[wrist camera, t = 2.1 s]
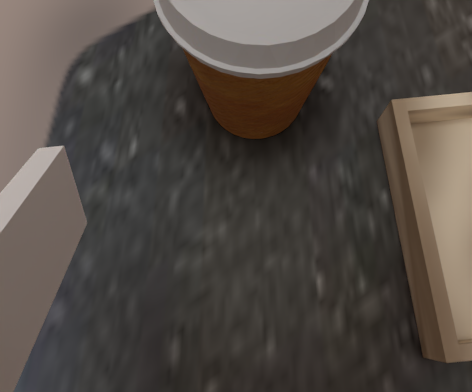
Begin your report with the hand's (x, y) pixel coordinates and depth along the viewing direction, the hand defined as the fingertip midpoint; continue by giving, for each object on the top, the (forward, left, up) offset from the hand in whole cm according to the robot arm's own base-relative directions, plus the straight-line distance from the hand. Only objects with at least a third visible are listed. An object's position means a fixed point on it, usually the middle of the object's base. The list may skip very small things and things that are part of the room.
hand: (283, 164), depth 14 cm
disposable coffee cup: (0, -10, -14) cm, 17 cm away
